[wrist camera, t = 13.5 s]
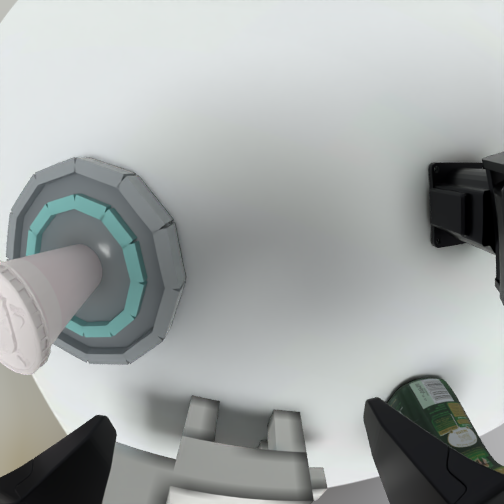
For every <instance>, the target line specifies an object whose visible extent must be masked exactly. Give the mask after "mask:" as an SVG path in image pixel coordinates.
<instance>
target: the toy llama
mask: <svg viewBox="0 0 504 504" xmlns="http://www.w3.org/2000/svg"><path fill="white" fill-rule="evenodd" d="M219 402H220V401H216V400H211V399H206V398H202V397H197V396H192V399H191V402H190V406H189V410H188V414H187V418H186V422H185V426H184V430H183V434H182V438H181V442H180V446H179V450H178V454H177V458H176V459H172V458H168V457H164V456H160V455H157V454H153V453H150V452H146V451H143V450H140V449H136V448H133V447H130V446H127V445H124V444H121V443H118V442H115V448H114V454H113V460H112V466H111V470H110V474H109V478H108V482H107V486H106V489H105V493H104V497H103V501H102V504H311V503H312V502H313V501H314V500H317V499H318V498H319V497H320V496H321V495H322V494H323V493H324V492H325V491H326V490H327V484H326V479H325V474H324V468H323V467H309V466H308V459H307V453H306V447H305V441H304V435H303V429H302V422H301V417H300V412H292V411H282V410H273V413H272V415H271V418H270V420H269V423H268V425H267V432H268V441H264V440H261V442H260V444H259V447H258V449H256V448H248V447H240V446H233V445H227V444H221V443H215V442H214V438H215V431H216V423H217V416H218V409H219Z"/></svg>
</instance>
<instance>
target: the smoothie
mask: <svg viewBox="0 0 504 504" xmlns="http://www.w3.org/2000/svg"><path fill="white" fill-rule="evenodd" d="M101 279H102V266H101V262H100V260H99V258H98V256H97V255H96V253H95V252H94V251H93V250H92V249H91V248H89V247H88V246H86V245H83V244H76V245H71V246H67V247H63V248H58V249H54V250H50V251H46V252H42V253H38V254H34V255H29V256H25V257H22V258H18V259H13V260H9V261H6V262H3V261H0V362H1V363H2V364H4V365H5V366H6V367H8V368H9V369H11V370H12V371H14V372H16V373H19V374H23V375H30V374H33V373H35V372H36V371H37V370H38V369H39V368H40V367H41V366H43V365H44V364H45V363H46V362H47V360H48V357H49V355H50V347H51V345H52V344H53V343H54V341H55V340H56V339H57V337H58V336H59V334H60V333H61V332H62V330H63V329H64V328H65V326H66V325H67V324H68V322H69V321H70V320H71V319H72V317H73V316H74V315H75V313H76V312H77V311H78V310H79V308H80V307H81V306H82V305H83V303H84V302H85V301H86V300H87V298H88V297H89V296H90V295H91V293H92V292H93V291H94V290H95V289H96V287H97V286H98V285H99V283H100V282H101Z"/></svg>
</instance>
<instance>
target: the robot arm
mask: <svg viewBox="0 0 504 504" xmlns="http://www.w3.org/2000/svg"><path fill="white" fill-rule="evenodd" d="M435 167H436V172H435V171H434V168H435ZM482 167H483V169H482ZM429 176H430V208H431V224H432V238H431V241H432V245H433V246H435V247H437V248H441V247H446V246H452V245H458V244H463V243H468V244H471V245H473V246H475V247H478V248H480V249H482V250H485V251H487V252H489V253H491V254H494V255H496V278H495V287H496V288H497V290H498V291H499V292H500V299H501V301H502V303H503V305H504V152H501V153H498V154H495V155H492V156H489V157H486V158H483V159H482V163H431V164H430V166H429ZM437 239H439V241H438V243H437ZM364 424H365V428H366V432H367V436H368V440H369V444H370V448H371V452H372V456H373V459H374V462H375V465H376V468H377V470H378V473H379V476H380V478H381V481H382V483H383V486H384V489H385V491H386V494H387V497H388V500H389V502H390V504H504V474H502V473H500V472H498V471H495V470H493V469H491V468H488V467H486V466H484V465H482V464H480V463H478V462H476V461H474V460H472V459H470V458H468V457H466V456H464V455H463V454H461V453H459V452H458V451H456V450H455V449H453V448H452V447H449V446H448V445H447V444H445V443H444V442H442V441H441V440H439V439H438V438H436V437H435V436H433V435H432V434H430V433H429V432H427V431H426V430H425V429H423V428H422V427H420V426H419V425H417V424H416V423H414V422H413V421H411V420H410V419H409V418H407V417H406V416H404V415H403V414H401V413H400V412H398V411H397V410H396V409H394V408H393V407H391V406H390V405H389V404H387V403H386V402H384V401H383V400H382V399H380V398H378V397H375V398H371V399H368V400H366V402H365V409H364ZM116 436H117V434H116V430H115V428H114V427H113V425H112V423H111V422H110V420H109V418H108V417H107V416H103V415H96V416H94V417H93V418H92V419H90V420H89V421H87V422H86V423H85V424H83V425H82V426H80V427H79V428H78V429H76V430H75V431H73V432H72V433H70V434H69V435H67V436H66V437H65V438H63V439H62V440H60V441H59V442H57V443H56V444H54V445H53V446H51V447H50V448H48V449H47V450H46V451H44V452H43V453H41V454H40V455H38V456H37V457H35V458H34V459H32V460H30V461H29V462H27V463H26V464H24V465H23V466H21V467H19V468H18V469H16V470H14V471H12V472H10V473H8V474H6V475H4V476H2V477H0V504H102V501H103V497H104V493H105V489H106V486H107V482H108V478H109V474H110V470H111V466H112V460H113V454H114V448H115V442H116Z"/></svg>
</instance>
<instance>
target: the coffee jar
mask: <svg viewBox="0 0 504 504" xmlns="http://www.w3.org/2000/svg"><path fill="white" fill-rule="evenodd" d="M387 404H389V405H390V406H391V407H393V408H394V409H396V410H397V411H398V412H400V413H401V414H403V415H404V416H406V417H407V418H409V419H410V420H411V421H413V422H414V423H416V424H417V425H419V426H420V427H422V428H423V429H425V430H426V431H427V432H429V433H430V434H432V435H433V436H435V437H436V438H438V439H439V440H441V441H442V442H444V443H445V444H447V445H448V446H449V447H452V448H453V449H455V450H456V451H458V452H459V453H461V454H463V455H464V456H466V457H468V458H470V459H472V460H474V461H476V462H478V463H480V464H482V465H484V466H486V467H488V468H491V469H493V470H495V471H498V472H500V473H502V474H504V466H502V465H500V464H498V463H497V462H496V461H495V460H494V459H493V458H492V456H491V455H490V454H489V452H488V451H487V449H486V448H485V446H484V445H483V443H482V442H481V439H480V438H479V436H478V434H477V432H476V431H475V429H474V427H473V425H472V424H471V422H470V420H469V418H468V416H467V415H466V413H465V411H464V409H463V407H462V405H461V404H460V402H459V400H458V398H457V397H456V395H455V394H454V392H453V391H452V389H451V388H450V386H449V385H448V384H447V382H446V381H444V380H442V379H438V378H420V379H418V380H414V381H412V382H410V383H408V384H406V385H404V386H402V387H400V388H399V389H398V390H397V391H396V392H395V394H394V395H393V396H392V398H391V399H390V401H389V402H388V403H387Z"/></svg>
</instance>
